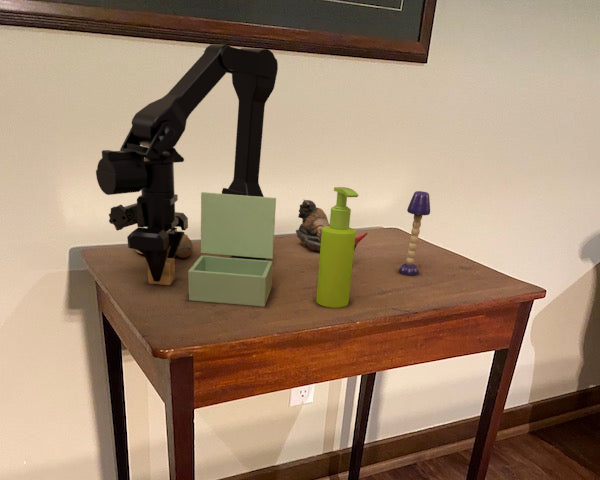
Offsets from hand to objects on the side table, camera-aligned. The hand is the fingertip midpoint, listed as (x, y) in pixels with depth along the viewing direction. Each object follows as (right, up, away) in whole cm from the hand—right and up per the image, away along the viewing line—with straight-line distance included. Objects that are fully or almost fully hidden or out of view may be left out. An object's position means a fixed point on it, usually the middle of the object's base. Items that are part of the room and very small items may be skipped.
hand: (161, 276), depth 116 cm
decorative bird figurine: (+35, +5, +16) cm, 39 cm away
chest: (+14, -4, -4) cm, 15 cm away
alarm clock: (-3, +8, +17) cm, 19 cm away
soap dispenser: (+32, -6, -4) cm, 33 cm away
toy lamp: (+49, +4, +16) cm, 52 cm away
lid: (+15, +8, -4) cm, 17 cm away
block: (0, -1, 0) cm, 1 cm away
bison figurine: (+29, +12, +29) cm, 43 cm away
